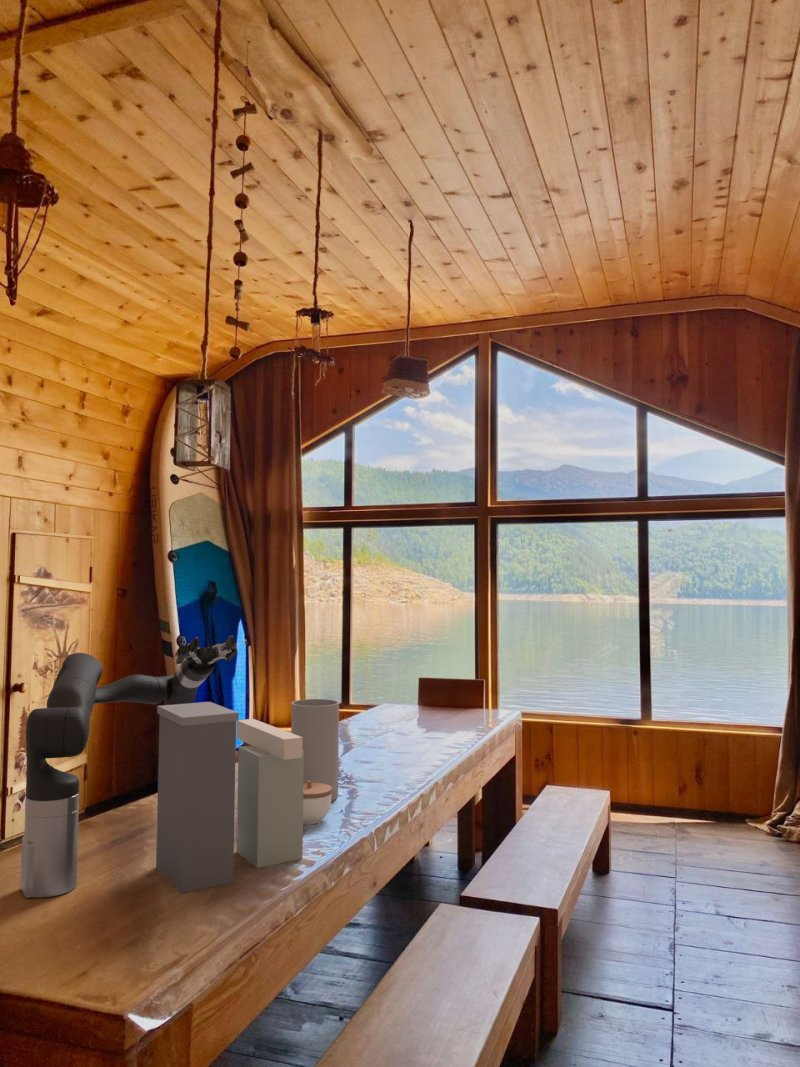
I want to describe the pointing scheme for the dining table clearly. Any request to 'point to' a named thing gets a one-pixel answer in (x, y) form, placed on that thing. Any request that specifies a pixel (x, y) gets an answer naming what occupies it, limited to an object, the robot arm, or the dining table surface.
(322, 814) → the lidded jar
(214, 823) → the charcoal stand
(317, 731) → the cylinder vase
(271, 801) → the sage-grey block
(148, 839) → the dining table surface
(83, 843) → the dining table surface
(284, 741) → the cream block
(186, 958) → the dining table surface
